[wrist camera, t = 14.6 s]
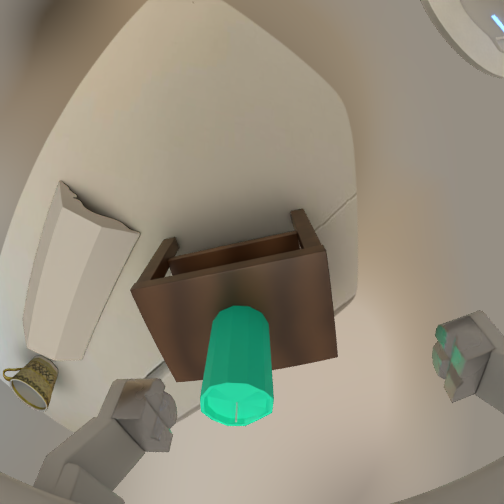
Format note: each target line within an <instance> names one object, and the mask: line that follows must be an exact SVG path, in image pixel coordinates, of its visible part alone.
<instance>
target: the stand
mask: <svg viewBox="0 0 504 504" xmlns="http://www.w3.org/2000/svg"><path fill="white" fill-rule="evenodd" d="M290 213H291V218H292V223H293V226H294V229H295V231H292V232H287V233H282V234H277V235H273V236H268V237H263V238H258V239H254V240H249V241H244V242H240V243H235V244H230V245H226V246H221V247H217V248H212V249H207V250H203V251H198V252H194V253H189V254H184V255H180V256H175V255H176V253H177V251H178V249H179V247H178V244H177V241H176V238H175V237H173V238H169V239H164V240H163V242H162V243H161V245H160V246H159V248H158V249H157V251H156V252H155V254H154V256H153V257H152V259H151V260H150V262H149V263H148V265H147V266H146V268H145V270H144V271H143V273H142V274H141V276H140V278H139V279H138V281H137V282H136V283H134V285H133V286H132V288H131V290H130V291H131V293H132V296H133V298H134V300H135V302H136V304H137V306H138V309H139V311H140V313H141V315H142V317H143V319H144V321H145V323H146V325H147V327H148V329H149V331H150V333H151V335H152V337H153V339H154V341H155V343H156V345H157V347H158V349H159V351H160V353H161V355H162V357H163V358H164V360H165V362H166V364H167V366H168V368H169V369H170V371H171V373H172V375H173V377H174V378H175V380H176V382H185V381H196V380H203V377H204V371H205V365H206V359H207V353H208V347H209V341H210V335H211V329H212V323H213V320H214V319H215V318H216V316H217V315H218V314H219V312H220V311H222V310H224V309H227V308H229V307H231V306H249V307H251V308H253V309H255V310H257V311H259V312H261V313H262V314H263V315H264V317H265V319H266V320H267V322H268V324H269V336H270V351H271V365H272V370H275V369H281V368H286V367H292V366H297V365H302V364H308V363H312V362H317V361H322V360H326V359H330V358H335V357H338V354H337V343H336V331H335V321H334V311H333V302H332V293H331V284H330V276H329V269H328V261H327V254H326V250H325V248H324V246H323V245H321V243H320V241H319V239H318V237H317V235H316V233H315V231H314V229H313V227H312V225H311V223H310V221H309V219H308V217H307V215H306V213H305V211H304V210H303V209H299V210H294V211H290ZM298 240H299V241H298ZM299 243H300V246H301V249H300V246H299ZM169 267H170V270H171V273H172V275H173V276H168V277H165V275H166V273H167V271H168V269H169Z"/></svg>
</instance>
